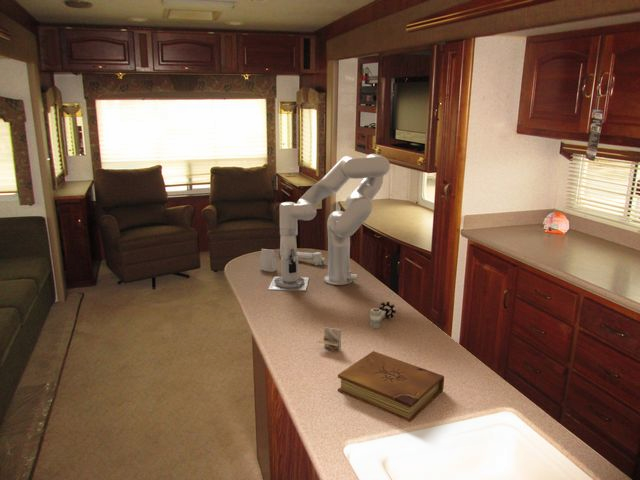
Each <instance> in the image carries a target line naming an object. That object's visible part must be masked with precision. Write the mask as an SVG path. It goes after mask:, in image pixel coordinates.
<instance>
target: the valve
mask: <svg viewBox="0 0 640 480" xmlns="http://www.w3.org/2000/svg"><path fill="white" fill-rule="evenodd" d="M380 305H381V306H380V307H378V308H377V307H375V308H372V309H370V316H369V321H370V322H369V324H370V325H369V327H370V329H372V330H379V329H380V328H381V327H382V320H383V319H384V318H385V319H390V318H391V319H393V318H394V317H395V314H396V313H397V310H396V309H394V308H395V305H394V304H391V303H390V301H386V302H384V301H383V302H382V303H381V304H380ZM385 307H386V308H385ZM390 312H391V313H390Z"/></svg>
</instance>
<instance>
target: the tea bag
mask: <svg viewBox="0 0 640 480" xmlns="http://www.w3.org/2000/svg"><path fill="white" fill-rule="evenodd" d="M259 270H260V271H263V270H264V272H271V273H273V272H275V271H276V270H277V255H276V253H275V249H267V248H261V251H260V256H259Z"/></svg>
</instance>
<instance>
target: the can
mask: <svg viewBox="0 0 640 480" xmlns="http://www.w3.org/2000/svg"><path fill="white" fill-rule="evenodd" d="M291 257H293V256H291ZM291 260H292V259H291ZM296 260H297V261H296V273H289V264H290V263H289V259H285V258H284V257H283V255H282V257H281V258H280V274H281V275H280V277H281V279H282V280H283V281H284V282H286V283H293V282H296V281H297V280H298V277H299V259H298V257H297V258H296Z"/></svg>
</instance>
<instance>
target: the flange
mask: <svg viewBox="0 0 640 480" xmlns="http://www.w3.org/2000/svg"><path fill="white" fill-rule="evenodd" d="M309 280H310V277H306V276H298V280H297V281H296V282H293V283H286V282H284V281H283V280H282V279H281V276H276V275H275V276H273V278H272V281H271V282H270V284H269V287H267V288H268V289H267V290H268V291H291V292H292V291H293V292H296V291H297V292H305V291H307V287H308V284H309Z"/></svg>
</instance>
